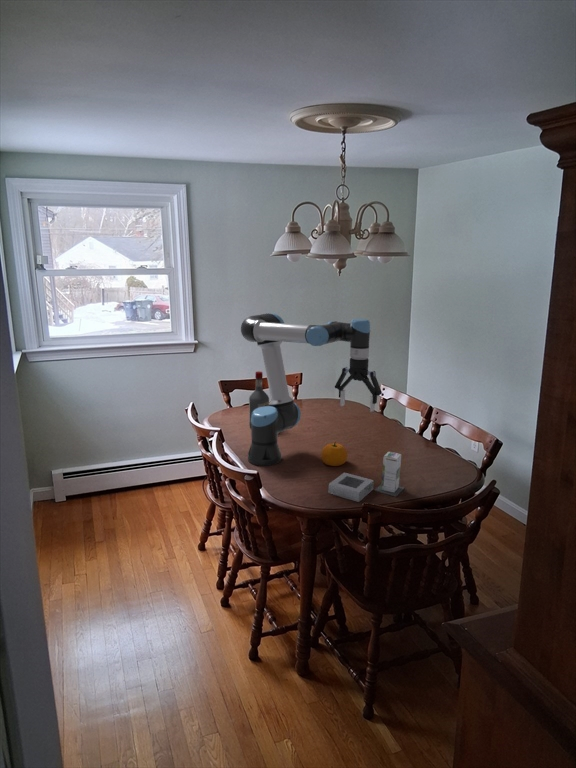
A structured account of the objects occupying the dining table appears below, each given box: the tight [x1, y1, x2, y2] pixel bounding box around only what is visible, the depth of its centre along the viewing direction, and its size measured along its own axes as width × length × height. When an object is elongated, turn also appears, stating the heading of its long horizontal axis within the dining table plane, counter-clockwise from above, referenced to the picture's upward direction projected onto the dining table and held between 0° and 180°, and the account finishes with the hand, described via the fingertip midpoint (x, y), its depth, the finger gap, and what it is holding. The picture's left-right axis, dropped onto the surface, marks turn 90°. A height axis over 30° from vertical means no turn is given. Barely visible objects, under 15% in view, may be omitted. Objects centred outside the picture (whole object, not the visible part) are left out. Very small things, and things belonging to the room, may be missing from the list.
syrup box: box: [380, 451, 402, 493], centre depth 207 cm, size 6×6×14 cm
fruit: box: [320, 441, 349, 467], centre depth 233 cm, size 12×12×10 cm
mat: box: [373, 484, 405, 498], centre depth 209 cm, size 9×9×1 cm
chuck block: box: [328, 472, 375, 503], centre depth 207 cm, size 13×13×4 cm
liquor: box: [248, 370, 270, 429], centre depth 277 cm, size 9×9×30 cm
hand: (357, 408), depth 218 cm, fingers open, 13 cm apart
